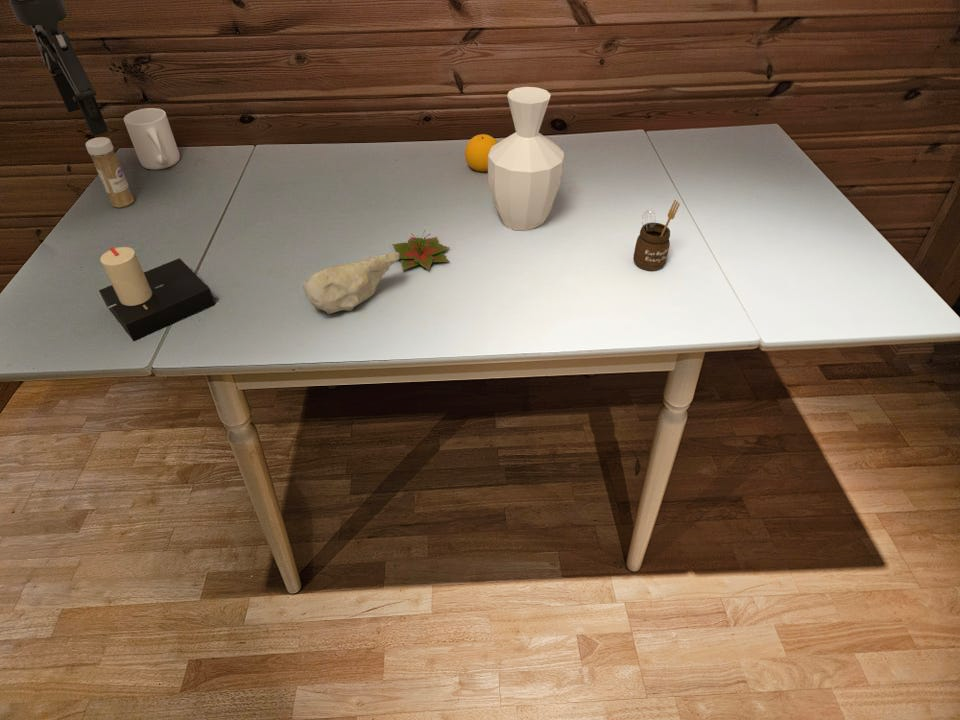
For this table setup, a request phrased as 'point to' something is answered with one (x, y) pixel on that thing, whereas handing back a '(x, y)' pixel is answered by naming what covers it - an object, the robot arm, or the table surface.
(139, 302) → the hob knob
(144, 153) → the mug
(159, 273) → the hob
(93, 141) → the sprinkles bottle
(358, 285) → the chicken drumstick
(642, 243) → the utensil holder
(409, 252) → the lily flower
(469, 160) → the orange fruit
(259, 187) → the table surface
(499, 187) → the vase
